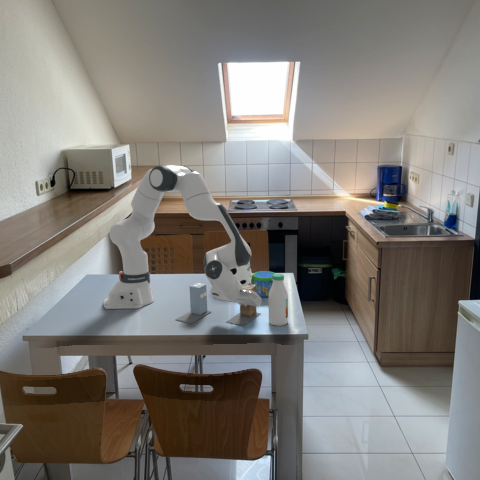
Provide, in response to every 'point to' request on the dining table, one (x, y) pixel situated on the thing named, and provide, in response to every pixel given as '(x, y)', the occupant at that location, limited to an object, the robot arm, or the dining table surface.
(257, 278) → the snack cup
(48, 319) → the dining table surface
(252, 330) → the dining table surface
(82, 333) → the dining table surface
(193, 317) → the grey flat block
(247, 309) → the wooden box
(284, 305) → the milk bottle
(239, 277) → the milk container
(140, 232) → the robot arm
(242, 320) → the grey rectangular plate
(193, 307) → the rectangular block
